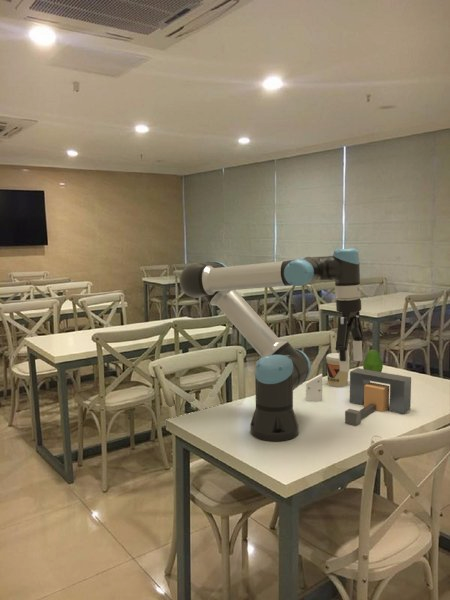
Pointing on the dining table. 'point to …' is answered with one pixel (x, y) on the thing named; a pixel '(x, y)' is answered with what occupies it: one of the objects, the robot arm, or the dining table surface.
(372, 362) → the avocado
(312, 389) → the white angled block
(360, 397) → the housing
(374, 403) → the plug
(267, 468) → the dining table surface
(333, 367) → the coffee cup
